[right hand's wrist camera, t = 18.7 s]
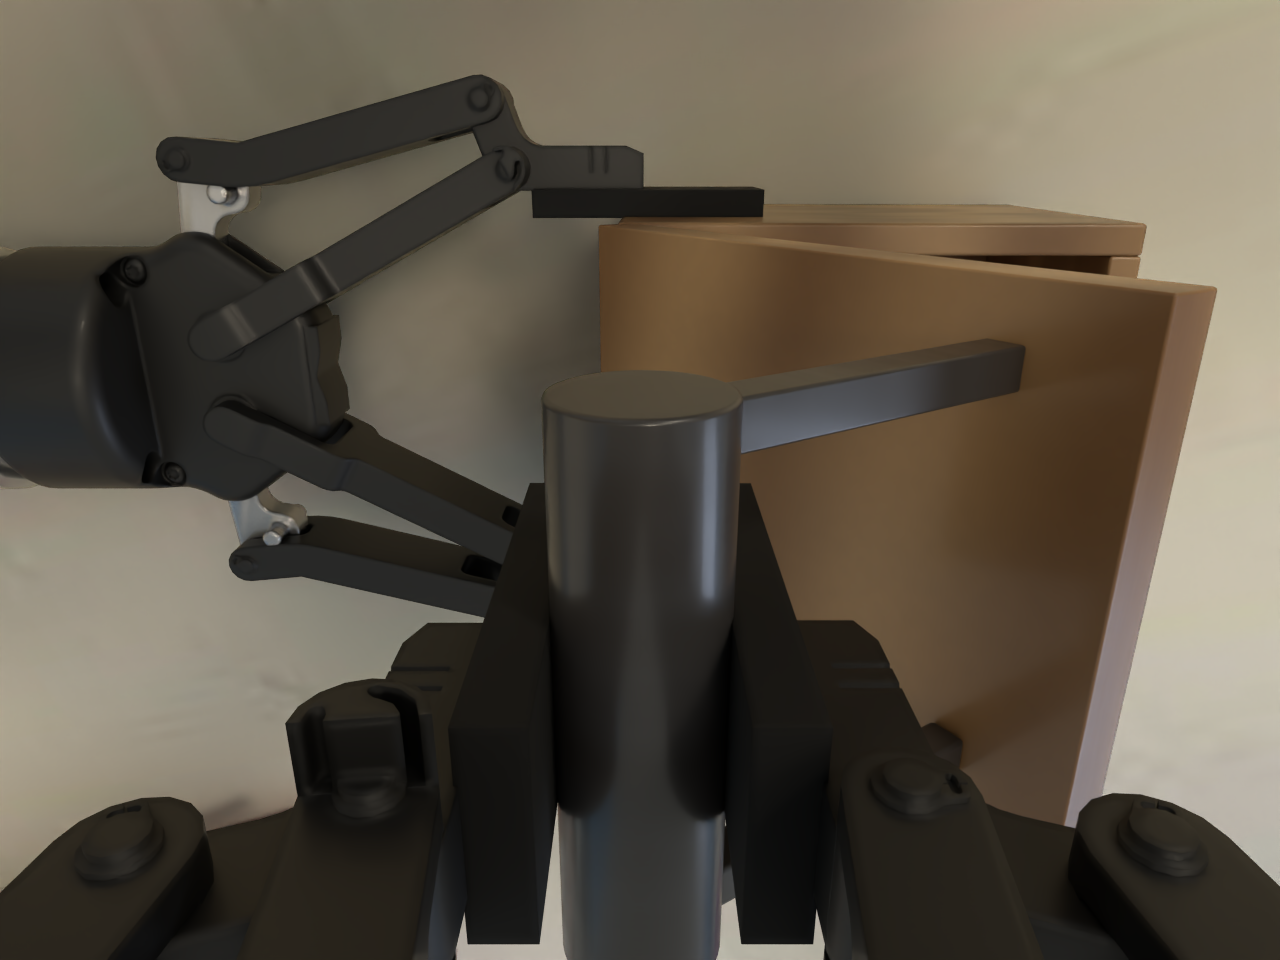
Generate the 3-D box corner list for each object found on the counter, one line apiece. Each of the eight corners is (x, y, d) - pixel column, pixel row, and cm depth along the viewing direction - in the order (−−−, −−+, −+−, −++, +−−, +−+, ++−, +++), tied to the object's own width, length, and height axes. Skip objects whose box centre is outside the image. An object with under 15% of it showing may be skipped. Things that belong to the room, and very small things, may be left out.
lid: (1219, 286, 11) (682, 370, 7) (1088, 859, 14) (668, 1166, 10) (633, 223, 22) (281, 239, 18) (634, 557, 25) (337, 642, 21)
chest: (1007, 204, 31) (1149, 223, 22) (972, 453, 34) (1083, 559, 25) (631, 203, 31) (617, 222, 22) (632, 450, 35) (620, 554, 26)
